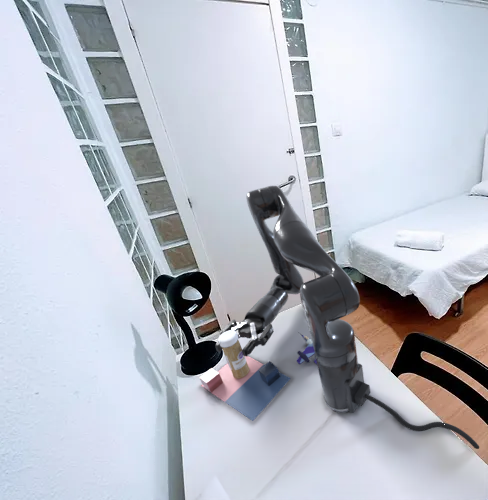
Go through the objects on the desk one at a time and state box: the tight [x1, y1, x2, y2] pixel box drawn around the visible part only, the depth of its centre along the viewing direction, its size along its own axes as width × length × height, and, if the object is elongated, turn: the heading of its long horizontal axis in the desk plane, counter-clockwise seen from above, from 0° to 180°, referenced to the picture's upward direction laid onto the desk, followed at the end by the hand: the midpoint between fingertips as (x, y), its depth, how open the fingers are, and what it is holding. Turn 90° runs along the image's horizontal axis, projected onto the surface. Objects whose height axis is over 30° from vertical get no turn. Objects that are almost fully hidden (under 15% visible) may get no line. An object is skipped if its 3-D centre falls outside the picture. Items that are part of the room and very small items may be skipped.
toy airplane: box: [295, 331, 317, 365], centre depth 81 cm, size 13×14×4 cm
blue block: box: [258, 360, 280, 386], centre depth 73 cm, size 4×4×4 cm
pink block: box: [199, 367, 223, 393], centre depth 74 cm, size 4×4×4 cm
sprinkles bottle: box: [217, 330, 249, 379], centre depth 74 cm, size 5×5×14 cm
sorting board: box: [200, 355, 291, 422], centre depth 74 cm, size 21×13×1 cm, turn 58°
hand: (230, 351), depth 73 cm, fingers open, 8 cm apart
